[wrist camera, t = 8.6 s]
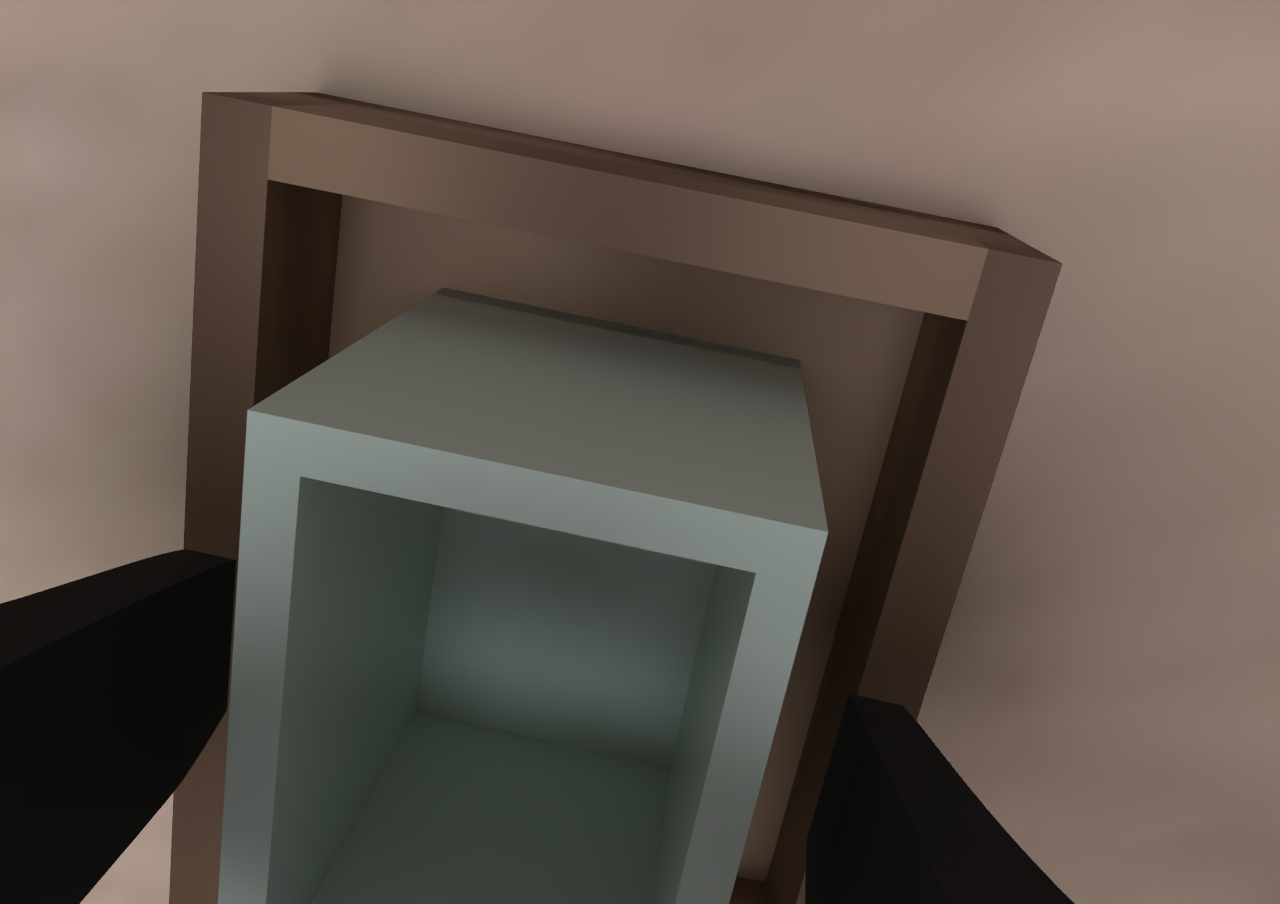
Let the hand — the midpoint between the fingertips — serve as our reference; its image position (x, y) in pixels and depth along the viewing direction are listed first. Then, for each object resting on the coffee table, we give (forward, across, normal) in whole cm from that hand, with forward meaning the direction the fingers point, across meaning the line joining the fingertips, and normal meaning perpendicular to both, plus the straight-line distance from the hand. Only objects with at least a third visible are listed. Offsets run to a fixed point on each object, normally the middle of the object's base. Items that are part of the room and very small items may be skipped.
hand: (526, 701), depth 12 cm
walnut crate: (+5, 0, 0) cm, 5 cm away
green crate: (+4, 0, 0) cm, 4 cm away
